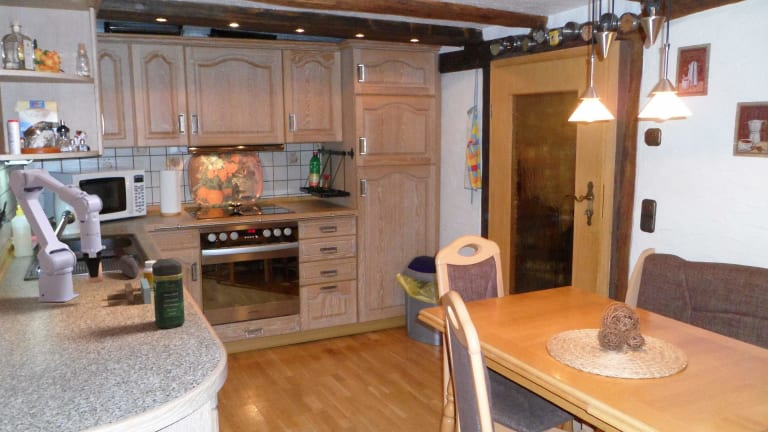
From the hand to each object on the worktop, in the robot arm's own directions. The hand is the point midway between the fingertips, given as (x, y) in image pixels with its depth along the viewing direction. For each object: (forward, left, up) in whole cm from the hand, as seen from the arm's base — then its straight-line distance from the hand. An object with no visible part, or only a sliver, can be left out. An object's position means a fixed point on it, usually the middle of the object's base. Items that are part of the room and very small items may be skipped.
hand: (94, 275), depth 194 cm
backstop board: (+14, +6, -9) cm, 17 cm away
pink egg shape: (0, 0, -2) cm, 2 cm away
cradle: (+7, +2, -9) cm, 11 cm away
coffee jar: (+33, -19, -9) cm, 39 cm away
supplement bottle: (+11, +17, -9) cm, 22 cm away
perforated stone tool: (-6, +35, -9) cm, 37 cm away
